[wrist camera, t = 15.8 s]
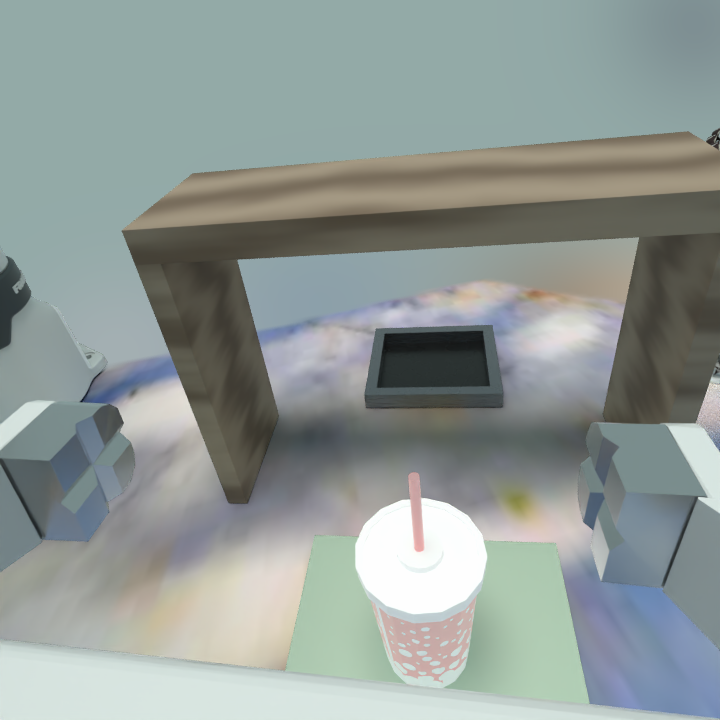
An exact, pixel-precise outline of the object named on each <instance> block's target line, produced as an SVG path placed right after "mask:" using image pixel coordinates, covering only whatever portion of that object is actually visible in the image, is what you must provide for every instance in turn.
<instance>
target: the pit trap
mask: <svg viewBox="0 0 720 720" xmlns="http://www.w3.org/2000/svg"><path fill="white" fill-rule="evenodd" d="M364 396H365V403H366V408H411V407H502V405H503V389H502V383H501V377H500V370H499V364H498V358H497V351H496V345H495V339H494V333H493V326H492V325H476V326H444V327H413V328H382V329H376V331H375V337H374V343H373V349H372V354H371V360H370V366H369V372H368V377H367V383H366V389H365V395H364Z"/></svg>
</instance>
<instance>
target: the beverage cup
mask: <svg viewBox="0 0 720 720" xmlns="http://www.w3.org/2000/svg"><path fill="white" fill-rule="evenodd" d="M408 481H409V492H410V499H408V500H401V501H398V502H396V503H394V504H391V505H389V506H387V507H384V508H382V509H380V510H379V511H378V512H377V513H376V514H375V515H374V516H373V517H372V518H371V519H370V520H369V521H367V522H366V523H365V524H364V526H363V529H362V531H361V533H360V535H359V537H358V540H357V542H356V544H355V566H356V571H357V573H358V578H359V580H360V582H361V584H362V586H363V588H364V590H365V592H366V594H367V596H368V598H369V599H370V600H371V603H372V607H373V610H374V613H375V617H376V620H377V623H378V627H379V630H380V633H381V637H382V640H383V644H384V647H385V650H386V654H387V657H388V659H389V661H390V663H391V666H392V668H393V670H394V672H395V673H396V674H397V675H398V676H399V677H400V678H401V679H402V680H403V681H404V682H405V683H406V684H411V685H420V686H429V687H438V688H444V687H445V686H447V685H449V684H451V683H453V682H455V681H456V679H457V678H458V677H459V675H460V674H461V673H462V671H463V670H464V669H465V666H466V662H467V657H468V652H469V646H470V639H471V632H472V625H473V618H474V611H475V604H476V597H477V594H478V593H479V592H480V591H481V588H482V584H483V579H484V575H485V570H486V563H487V553H486V549H485V545H484V541H483V536H482V534H481V532H480V531H479V530H478V528H477V527H476V526H475V524H474V523H473V522H472V520H471V519H470V518H469V516H468V515H466V514H464V513H463V512H461V511H459V510H458V509H456V508H455V507H453V506H451V505H450V504H448V503H444V502H440V501H436V500H431V499H427V498H421V490H420V476H419V474H418V473H416V472H412V473H410V474H409V475H408Z"/></svg>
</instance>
